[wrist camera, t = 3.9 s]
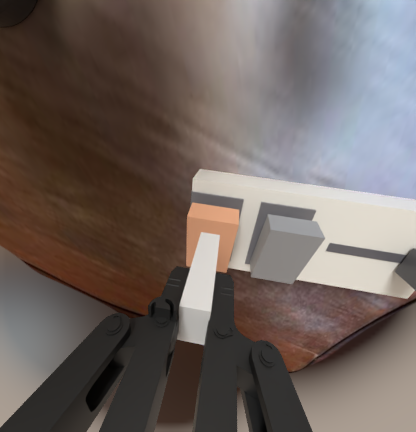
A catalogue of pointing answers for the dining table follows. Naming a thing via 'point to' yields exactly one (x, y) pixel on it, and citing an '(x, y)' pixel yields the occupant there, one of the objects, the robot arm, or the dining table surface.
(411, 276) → the slider knob
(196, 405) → the robot arm
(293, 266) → the grey rocker
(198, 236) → the block
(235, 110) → the dining table surface
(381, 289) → the panel
